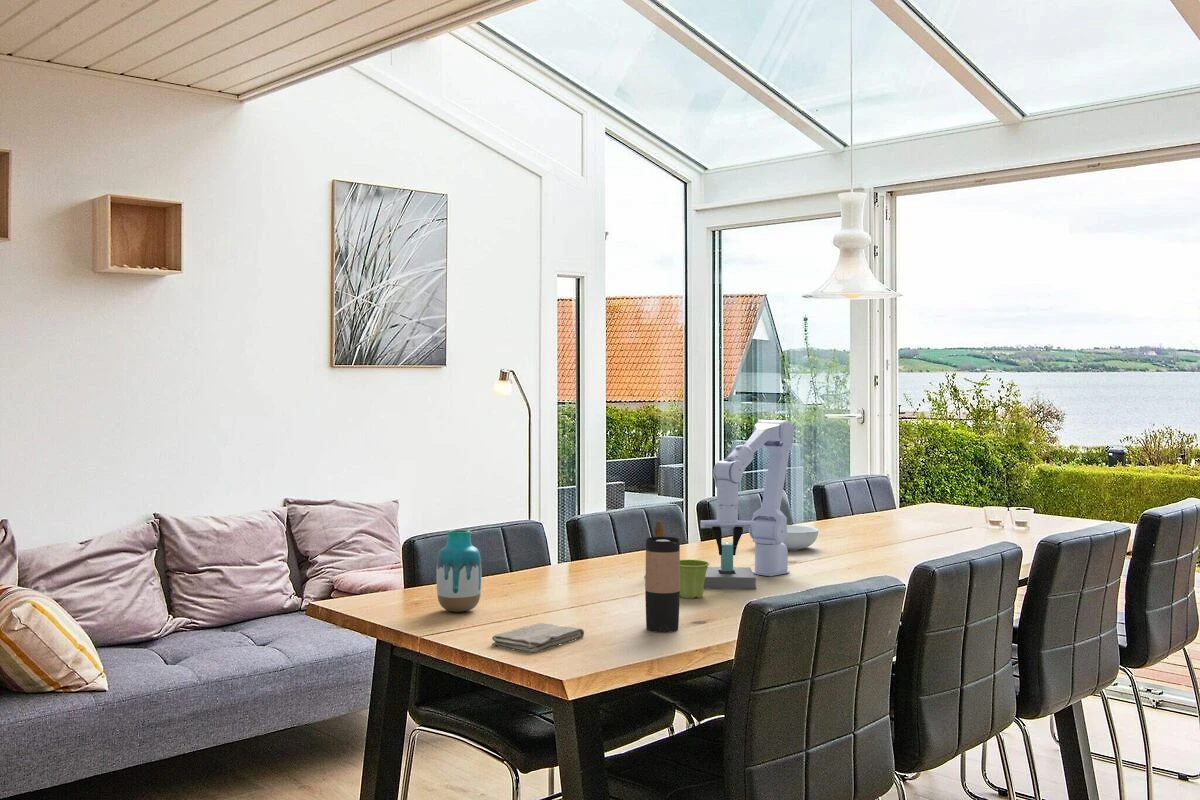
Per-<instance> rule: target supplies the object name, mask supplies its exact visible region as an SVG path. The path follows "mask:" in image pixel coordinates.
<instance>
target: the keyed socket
mask: <svg viewBox="0 0 1200 800" xmlns="http://www.w3.org/2000/svg"><path fill="white" fill-rule="evenodd" d="M752 570H753V569H751V567H750V566H749V567H746V566H745V567H744V566H742V567H741V566H740V567H739V566H736V567H734V566H733V571H722V570H721V566H708V567H707V571H706V575H705V581H704V588H703V589H726V590H727V589H728V590H729V589H731V590H732V589H739V590H741V589H742V590H743V589H745V590H747V589H748V590H756V588H757V587H756V583H757V582H756V580H757V578H756V574H753V572H752Z"/></svg>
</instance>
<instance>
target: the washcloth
mask: <svg viewBox="0 0 1200 800" xmlns="http://www.w3.org/2000/svg"><path fill="white" fill-rule="evenodd" d="M584 635H585V631H584V629H583V628H579V627H574V626H560V625H554V624H551V623H545V622H538V623H535V624H532V625H526V626H522V627H518V628H515V629H512V630H508V631H505V632H501V633H497V634H495V635H493V636H492V638H491V640H492V641H494V642H492V644H491V646H492V645H497V646H499V647H498V648H500V647H503V648H502V649H505V648H508V649H507V650H510V649H514V650H513V651H516V650H519V651H518V652H521V651H522V653H526V652H528V653H530V654H533V653H532V652H534V653H539V652H538V651H540V650H543V651H547V650H550V649H553V648H556V647H555V646H557V647H559V646H558V645H559V644H563V645H565V644H564V643H566V644H568V643H567V642H569V641H572V640H575V639H578V640H580V639H579V638H581V639H583V637H584ZM575 641H576V640H575ZM572 642H573V641H572ZM569 643H570V642H569ZM497 646H496V647H497ZM552 647H553V648H552ZM549 648H550V649H549ZM546 649H547V650H546ZM540 652H541V651H540Z"/></svg>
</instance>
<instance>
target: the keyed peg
mask: <svg viewBox="0 0 1200 800" xmlns="http://www.w3.org/2000/svg"><path fill="white" fill-rule="evenodd" d="M721 545H722V555H720V567H721V570H722V571H733V567H734V555H733V541H731V542H728V541H726V542H725V541H721Z"/></svg>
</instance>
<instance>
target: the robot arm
mask: <svg viewBox="0 0 1200 800" xmlns="http://www.w3.org/2000/svg"><path fill="white" fill-rule="evenodd" d="M753 426H754V427H753V432H752V434H751V435H750V437H749V438H748V439H747V440H746V442H745V443H744V444H739V445H736V446H735V447H734V449H733V450H732V451H731V452H730V453H729V454H728V455H727V456H726V457H725V458H724V459H723V460H719V461H718V462H716V463H715V464H714V466H713V470H712V473H711V474H712V476H713V479H714V486H715V488H716V519H709V520H708V519H707V520H706V519H705V520H704V519H703V520H702V519H701V520H700V524H699V525H700V529H711V531H712V533H713V535H714V538H715V541H716V544H717V549H718V555H719V556H721V555H722V545H721V542H722V537H723V536H722V534H723V532H722V529H732V544H733V556H736V555H737V554H736V552H737V547H738V544H739V541H740V540H741V536H742V534H743V533H744V529H748V534H749V536H750V538H751V539H752V542H753V543H754V569H751V570H752V572H753V574H754V575H759V576H766V577H774V576H778V575H784V574H785V575H786V574H789V573H791V571H790V570H788V568H789V567H788V561H789V560H788V559H789V558H788V557H789V554H788V553H789V552H788V550H787V547H786V545H785V544H784V543H783V541H784V539H785V538H786V535H787V525H788V523H787V522H788V517H787V516H786V515H785V514H784V512H782V510H781V505H782V499H783V498H782V497H783V491H784V485H785V481H786V474H787V470H788V469H787V468H788V463H789V462H788V461H789V455H790V451H792V449H793V445H794V444H793V443H794V438H795V437H794V436H795V429H794V427H793V424H792V422H791V421H790V420H787V419H786V420H777V419H776V420H773V419H771V420H770V419H759V420H758V421H757V422H756V423H755V424H754V425H753ZM761 447H763V448H764V449H765V450H766V451H768V453H769V460H768V467H767V473H766V479H765V485H764V490H763V496H762V502H761V507H760V508H758V509H756V510H755V511H754V512H753V514H752V519H751V520H741V519H740V520H739V482H741V481H742V478H743V475H744V473H745V469H746V468H747V467H748V466H749V464H751V463H752V461H753V460H754V453H756V452H757V451H758V450H759V449H760V448H761Z"/></svg>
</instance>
